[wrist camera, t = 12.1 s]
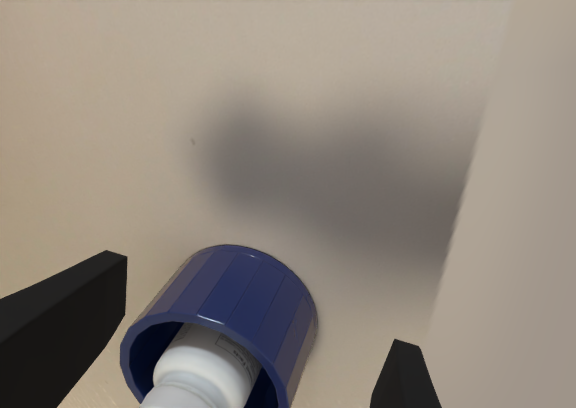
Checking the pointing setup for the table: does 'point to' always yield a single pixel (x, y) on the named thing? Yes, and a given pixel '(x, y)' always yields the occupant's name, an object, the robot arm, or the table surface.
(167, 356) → the pill bottle
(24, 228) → the table surface
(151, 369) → the bowl
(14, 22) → the table surface
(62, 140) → the table surface
